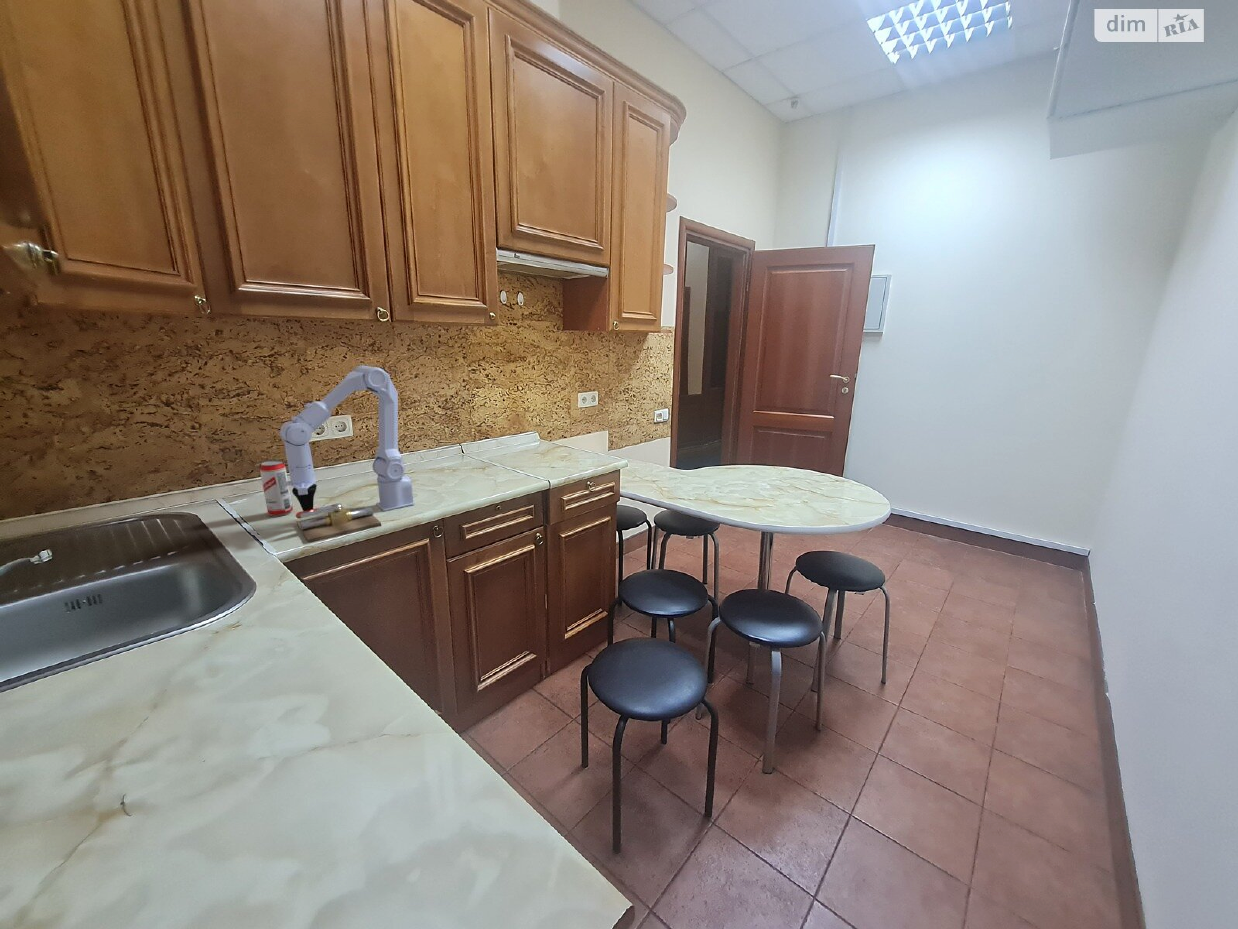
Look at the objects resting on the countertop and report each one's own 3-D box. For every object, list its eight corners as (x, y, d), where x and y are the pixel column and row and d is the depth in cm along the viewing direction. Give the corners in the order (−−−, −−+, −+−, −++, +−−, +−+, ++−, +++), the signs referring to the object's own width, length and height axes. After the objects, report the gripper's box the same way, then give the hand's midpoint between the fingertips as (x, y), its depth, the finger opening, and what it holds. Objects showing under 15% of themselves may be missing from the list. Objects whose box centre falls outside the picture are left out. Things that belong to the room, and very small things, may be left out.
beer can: (280, 518, 141) (271, 466, 136) (263, 516, 142) (253, 464, 138) (298, 510, 147) (289, 460, 142) (281, 508, 148) (272, 459, 144)
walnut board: (365, 510, 148) (364, 507, 148) (381, 525, 137) (380, 522, 136) (296, 524, 136) (296, 521, 136) (308, 543, 125) (307, 539, 125)
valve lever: (340, 507, 137) (339, 501, 137) (343, 510, 135) (342, 504, 135) (295, 517, 129) (294, 511, 129) (297, 520, 127) (296, 514, 127)
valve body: (370, 514, 144) (368, 500, 143) (374, 518, 141) (372, 504, 140) (300, 529, 132) (298, 515, 131) (303, 534, 129) (301, 519, 128)
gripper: (285, 460, 135) (293, 505, 138) (280, 474, 123) (289, 522, 126) (314, 457, 138) (321, 501, 142) (312, 470, 126) (320, 518, 130)
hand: (308, 511), depth 134 cm, fingers closed
